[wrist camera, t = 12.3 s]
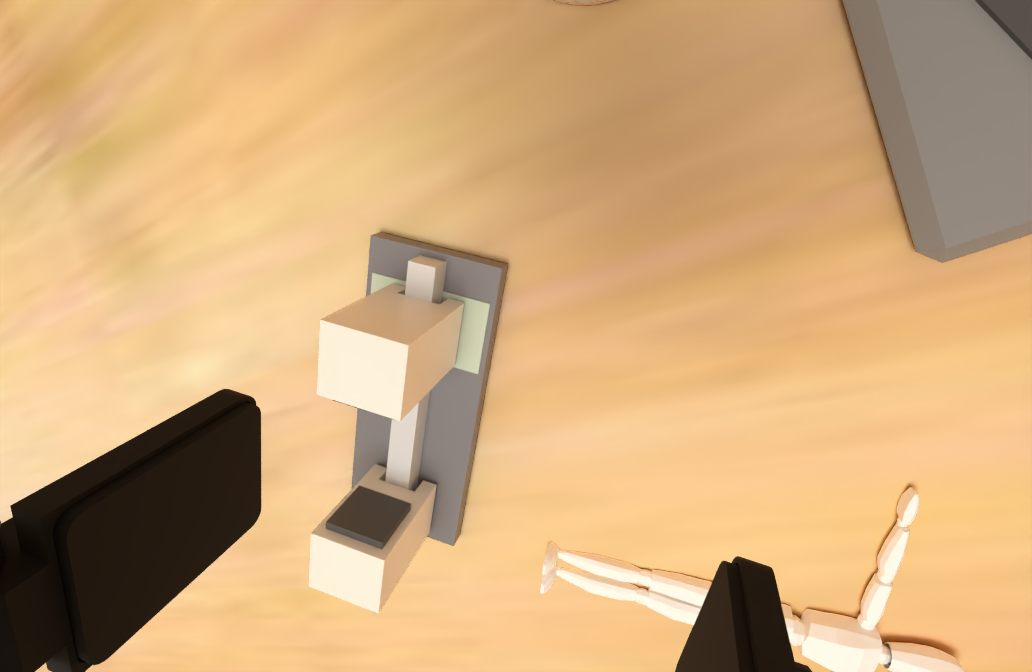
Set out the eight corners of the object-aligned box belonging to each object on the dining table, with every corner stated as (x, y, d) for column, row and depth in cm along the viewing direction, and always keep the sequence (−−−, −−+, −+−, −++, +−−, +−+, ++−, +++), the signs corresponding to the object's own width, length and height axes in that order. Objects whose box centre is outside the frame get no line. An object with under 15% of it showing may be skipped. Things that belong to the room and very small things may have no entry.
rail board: (380, 232, 40) (287, 261, 30) (508, 263, 38) (451, 305, 29) (359, 498, 50) (282, 585, 40) (459, 534, 48) (405, 634, 38)
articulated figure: (555, 434, 39) (1059, 543, 31) (566, 411, 42) (1024, 504, 35) (529, 696, 49) (909, 831, 41) (540, 660, 52) (893, 778, 44)
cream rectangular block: (392, 283, 39) (320, 319, 31) (464, 302, 38) (408, 345, 30) (385, 352, 41) (316, 403, 33) (453, 372, 40) (399, 429, 32)
